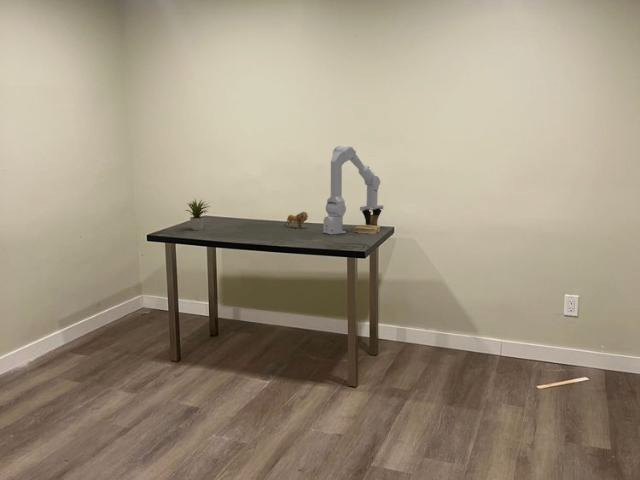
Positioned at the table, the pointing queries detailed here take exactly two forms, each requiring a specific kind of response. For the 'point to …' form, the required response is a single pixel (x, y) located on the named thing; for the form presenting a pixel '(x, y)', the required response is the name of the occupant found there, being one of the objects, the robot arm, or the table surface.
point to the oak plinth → (367, 229)
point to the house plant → (197, 215)
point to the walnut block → (373, 220)
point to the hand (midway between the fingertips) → (371, 223)
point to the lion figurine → (297, 219)
